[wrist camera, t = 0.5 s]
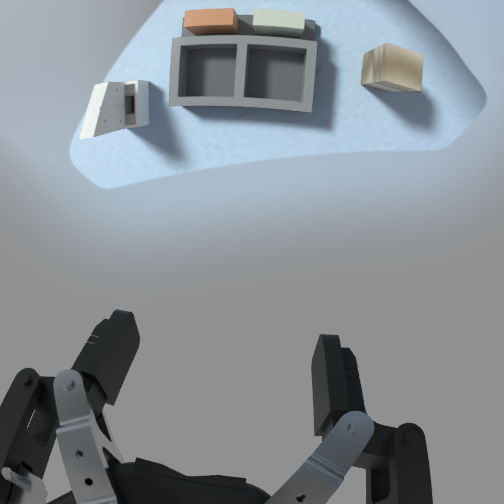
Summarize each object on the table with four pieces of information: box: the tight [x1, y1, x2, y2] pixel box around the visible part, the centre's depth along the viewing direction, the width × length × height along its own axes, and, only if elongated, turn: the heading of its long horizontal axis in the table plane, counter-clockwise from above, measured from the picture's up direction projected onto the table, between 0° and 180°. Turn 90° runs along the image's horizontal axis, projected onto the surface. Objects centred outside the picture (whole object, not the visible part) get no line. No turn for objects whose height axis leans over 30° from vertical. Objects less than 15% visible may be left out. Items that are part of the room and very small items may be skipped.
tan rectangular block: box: [361, 43, 423, 92], centre depth 23 cm, size 4×4×8 cm
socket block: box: [169, 8, 317, 113], centre depth 26 cm, size 12×15×5 cm
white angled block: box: [80, 80, 149, 139], centre depth 28 cm, size 4×10×9 cm, turn 178°
